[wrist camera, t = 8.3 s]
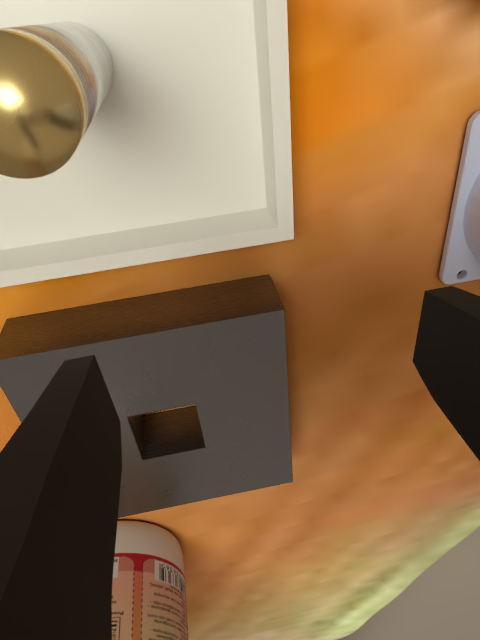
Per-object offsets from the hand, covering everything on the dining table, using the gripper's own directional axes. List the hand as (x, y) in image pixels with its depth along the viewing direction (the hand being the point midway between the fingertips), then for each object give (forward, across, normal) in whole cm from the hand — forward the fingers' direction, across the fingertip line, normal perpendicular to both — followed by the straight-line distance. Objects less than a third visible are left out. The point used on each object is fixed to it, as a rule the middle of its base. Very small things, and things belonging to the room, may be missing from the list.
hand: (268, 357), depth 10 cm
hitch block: (+10, +4, +10) cm, 15 cm away
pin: (+10, +4, -5) cm, 12 cm away
